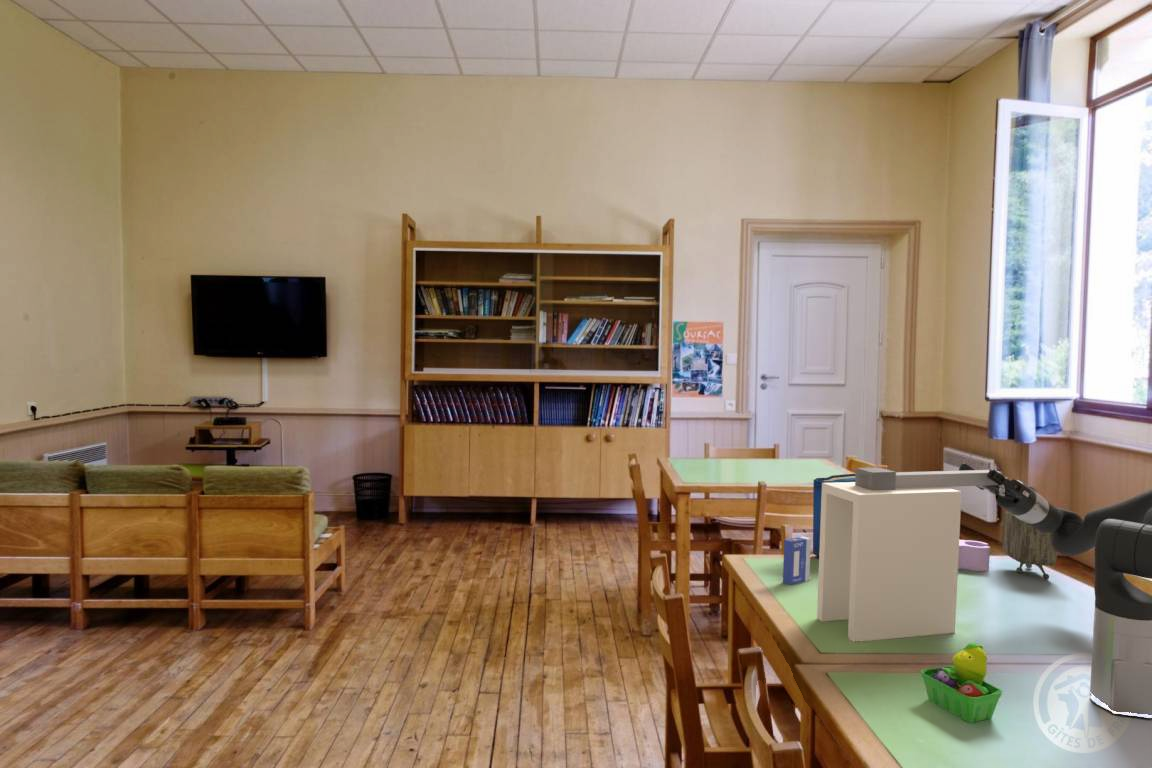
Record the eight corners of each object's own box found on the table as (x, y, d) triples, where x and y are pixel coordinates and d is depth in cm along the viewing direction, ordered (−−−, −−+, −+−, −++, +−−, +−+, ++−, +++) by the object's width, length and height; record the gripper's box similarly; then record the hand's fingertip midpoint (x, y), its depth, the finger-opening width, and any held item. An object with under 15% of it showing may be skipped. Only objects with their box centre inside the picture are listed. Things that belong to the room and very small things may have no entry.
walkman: (790, 585, 197) (792, 540, 196) (782, 582, 199) (784, 538, 198) (810, 580, 201) (811, 537, 200) (802, 577, 203) (803, 534, 203)
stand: (912, 610, 179) (917, 480, 177) (954, 632, 165) (961, 491, 164) (816, 618, 172) (821, 482, 171) (853, 641, 159) (859, 494, 157)
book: (821, 562, 218) (824, 478, 217) (807, 555, 225) (810, 474, 224) (883, 558, 224) (886, 476, 223) (868, 551, 231) (871, 472, 230)
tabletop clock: (1056, 582, 204) (1060, 492, 202) (1020, 580, 205) (1025, 491, 204) (1032, 566, 218) (1036, 483, 217) (999, 565, 219) (1003, 481, 218)
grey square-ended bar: (986, 481, 177) (986, 464, 177) (1006, 486, 172) (1007, 468, 171) (855, 485, 168) (855, 468, 168) (871, 490, 163) (872, 472, 162)
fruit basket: (916, 697, 134) (919, 636, 133) (953, 690, 137) (956, 630, 136) (970, 728, 123) (973, 662, 123) (1008, 720, 126) (1012, 655, 126)
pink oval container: (985, 563, 222) (986, 540, 221) (991, 574, 210) (992, 550, 210) (912, 554, 229) (913, 532, 229) (914, 565, 218) (915, 542, 217)
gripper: (1040, 522, 169) (991, 489, 166) (991, 509, 183) (945, 478, 179) (1055, 494, 170) (1006, 460, 166) (1005, 482, 184) (959, 451, 180)
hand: (975, 469), depth 173 cm, fingers open, 8 cm apart
